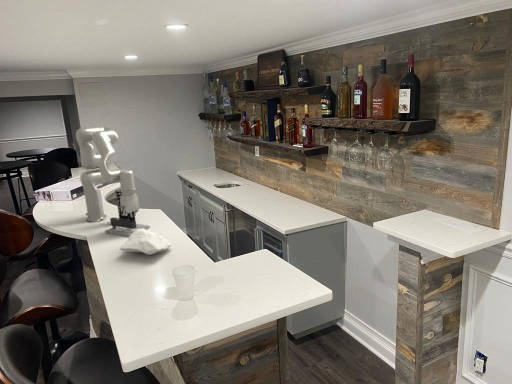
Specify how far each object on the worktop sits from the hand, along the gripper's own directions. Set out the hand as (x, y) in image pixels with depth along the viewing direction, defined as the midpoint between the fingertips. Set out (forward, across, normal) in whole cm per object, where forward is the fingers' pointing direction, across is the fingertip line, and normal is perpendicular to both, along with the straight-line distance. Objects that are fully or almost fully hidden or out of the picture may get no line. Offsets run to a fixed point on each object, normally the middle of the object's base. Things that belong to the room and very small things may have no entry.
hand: (132, 223), depth 222 cm
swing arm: (+1, +4, -4) cm, 5 cm away
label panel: (+5, +1, -4) cm, 6 cm away
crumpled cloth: (+5, +20, +29) cm, 35 cm away
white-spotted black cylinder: (+5, -12, -19) cm, 23 cm away
